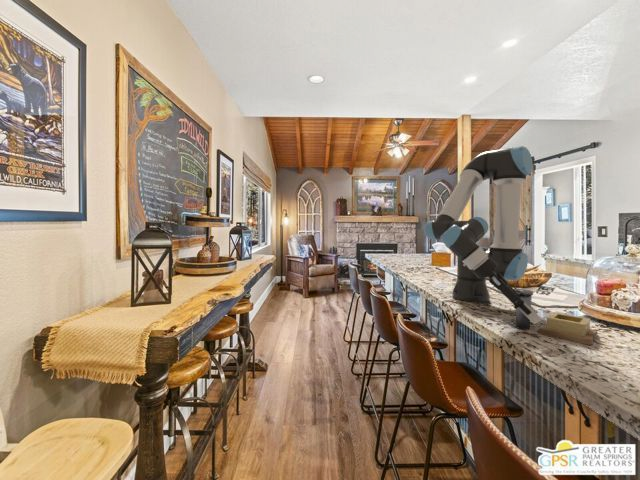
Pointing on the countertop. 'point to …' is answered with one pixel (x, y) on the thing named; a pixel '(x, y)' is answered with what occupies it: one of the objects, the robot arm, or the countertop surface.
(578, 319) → the square socket frame
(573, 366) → the countertop surface
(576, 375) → the countertop surface
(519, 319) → the pin
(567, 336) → the socket base
